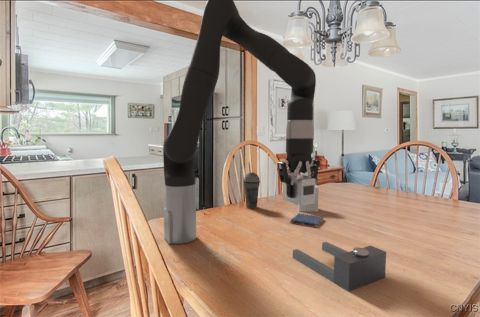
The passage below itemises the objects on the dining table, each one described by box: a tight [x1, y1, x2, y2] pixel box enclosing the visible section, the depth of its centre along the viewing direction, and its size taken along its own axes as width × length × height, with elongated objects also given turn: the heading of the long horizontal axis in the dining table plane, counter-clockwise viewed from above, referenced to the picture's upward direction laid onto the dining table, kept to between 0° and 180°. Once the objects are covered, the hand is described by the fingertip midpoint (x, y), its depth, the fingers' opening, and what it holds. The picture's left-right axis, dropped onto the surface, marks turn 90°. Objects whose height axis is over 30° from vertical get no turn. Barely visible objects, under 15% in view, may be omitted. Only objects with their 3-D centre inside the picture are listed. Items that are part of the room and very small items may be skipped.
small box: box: [297, 184, 319, 213], centre depth 118 cm, size 8×6×10 cm
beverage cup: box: [243, 162, 261, 210], centre depth 122 cm, size 7×7×20 cm
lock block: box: [282, 174, 317, 206], centre depth 79 cm, size 5×8×7 cm, turn 29°
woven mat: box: [289, 212, 325, 229], centre depth 103 cm, size 10×11×2 cm
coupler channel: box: [292, 241, 387, 292], centre depth 68 cm, size 12×18×7 cm, turn 28°
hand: (298, 196), depth 79 cm, fingers closed on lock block, 5 cm apart
